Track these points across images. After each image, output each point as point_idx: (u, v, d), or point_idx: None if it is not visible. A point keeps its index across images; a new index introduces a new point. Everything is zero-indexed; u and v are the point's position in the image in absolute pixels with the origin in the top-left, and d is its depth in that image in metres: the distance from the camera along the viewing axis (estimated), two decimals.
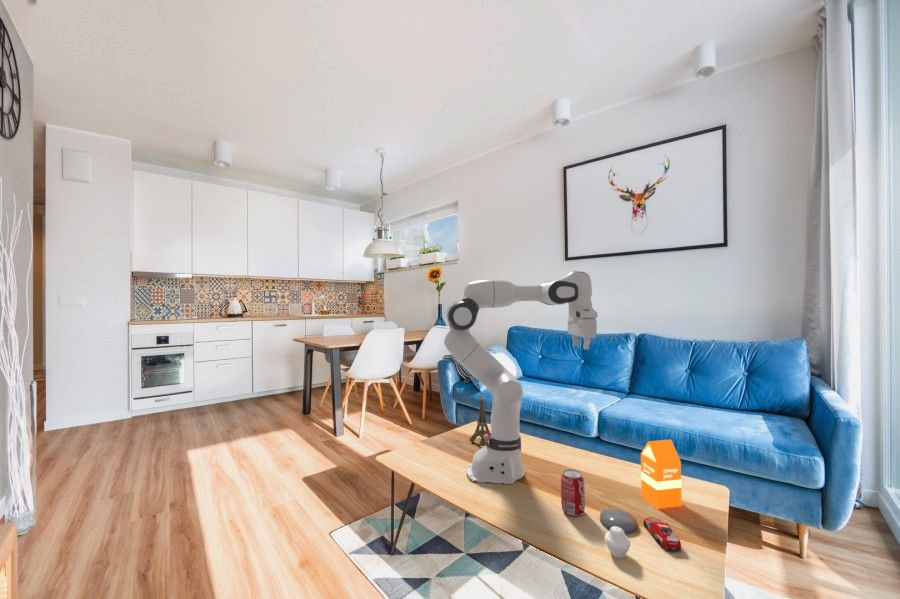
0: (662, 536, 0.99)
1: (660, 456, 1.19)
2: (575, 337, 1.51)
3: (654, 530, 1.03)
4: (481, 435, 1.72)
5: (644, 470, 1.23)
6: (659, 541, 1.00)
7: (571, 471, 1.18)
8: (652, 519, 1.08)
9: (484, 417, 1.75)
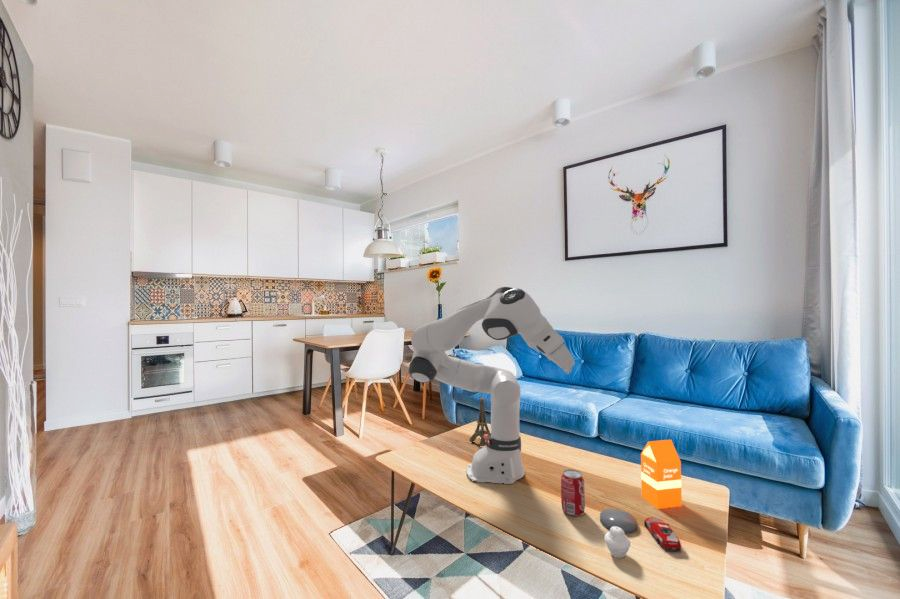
0: (661, 536, 0.99)
1: (660, 456, 1.19)
2: None
3: (654, 530, 1.03)
4: (481, 435, 1.72)
5: (644, 470, 1.23)
6: (659, 541, 1.00)
7: (571, 471, 1.18)
8: (653, 519, 1.08)
9: (484, 417, 1.75)
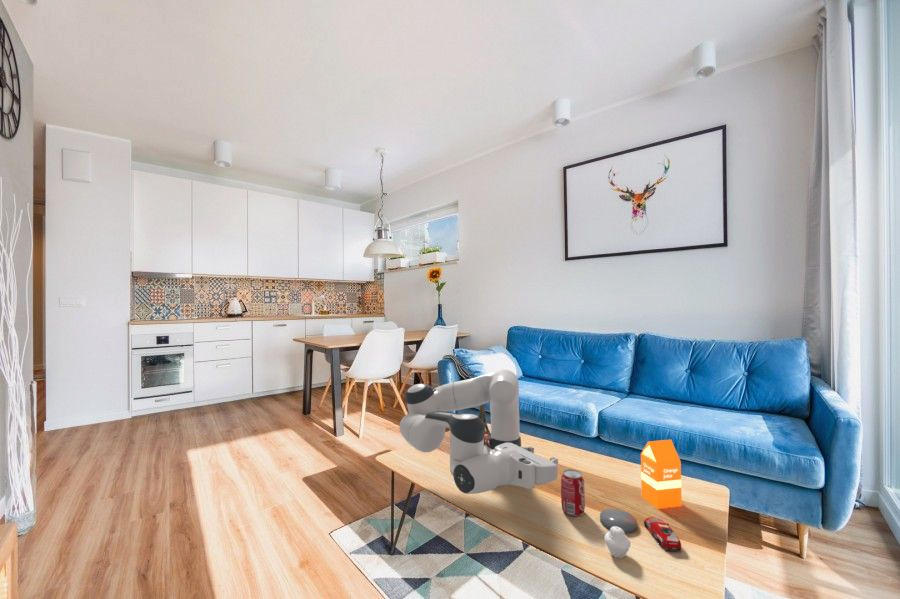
0: (662, 536, 0.99)
1: (660, 456, 1.19)
2: None
3: (654, 530, 1.03)
4: None
5: (644, 470, 1.23)
6: (659, 541, 1.00)
7: (571, 471, 1.18)
8: (653, 519, 1.08)
9: (484, 417, 1.75)
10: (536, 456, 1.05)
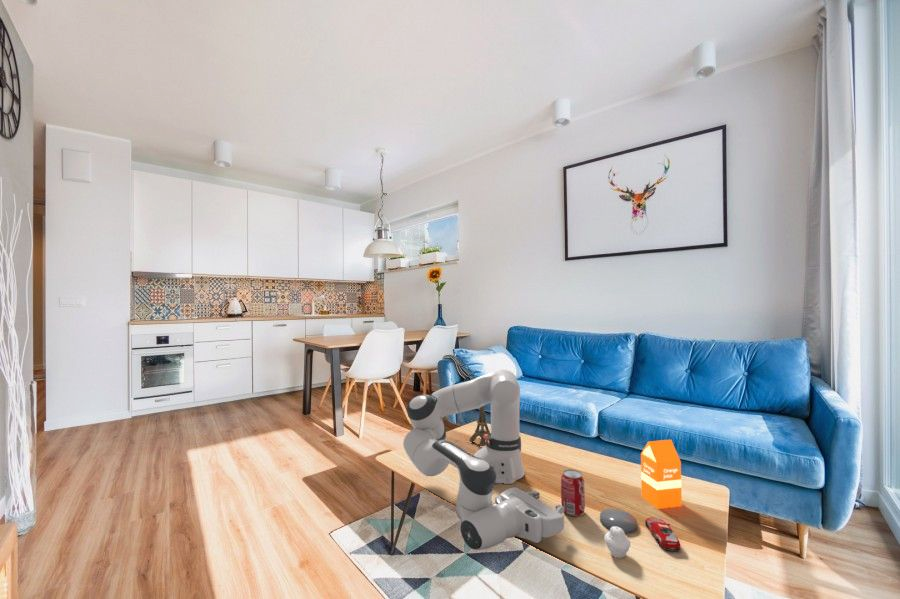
0: (661, 536, 0.99)
1: (660, 456, 1.19)
2: None
3: (654, 529, 1.03)
4: (481, 435, 1.72)
5: (644, 470, 1.23)
6: (658, 541, 1.00)
7: (571, 471, 1.18)
8: (654, 519, 1.08)
9: (484, 417, 1.75)
10: (542, 505, 1.05)
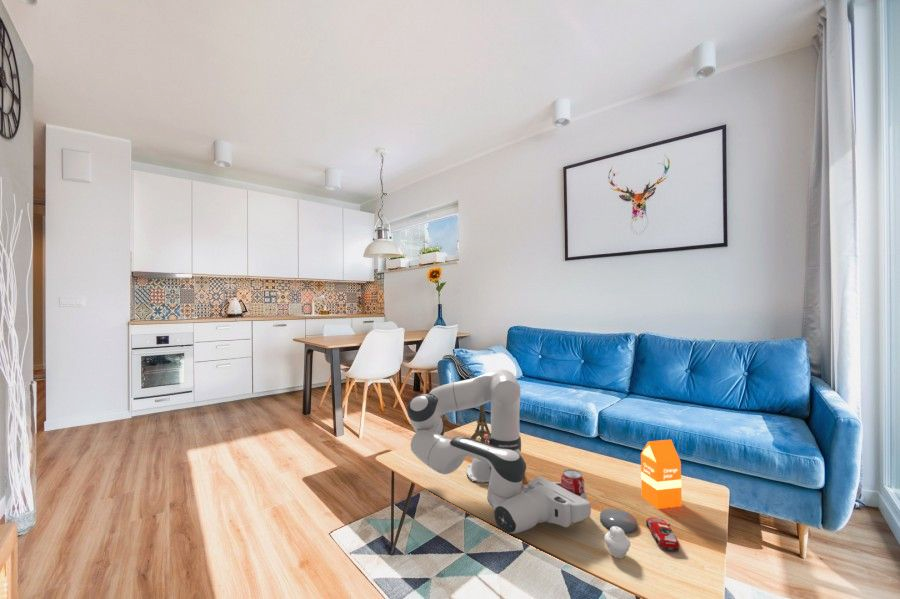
0: (659, 535, 0.99)
1: (660, 456, 1.19)
2: None
3: (654, 529, 1.03)
4: (481, 435, 1.72)
5: (644, 470, 1.23)
6: (657, 540, 1.00)
7: (571, 471, 1.18)
8: (655, 519, 1.08)
9: (484, 417, 1.75)
10: (569, 492, 1.11)
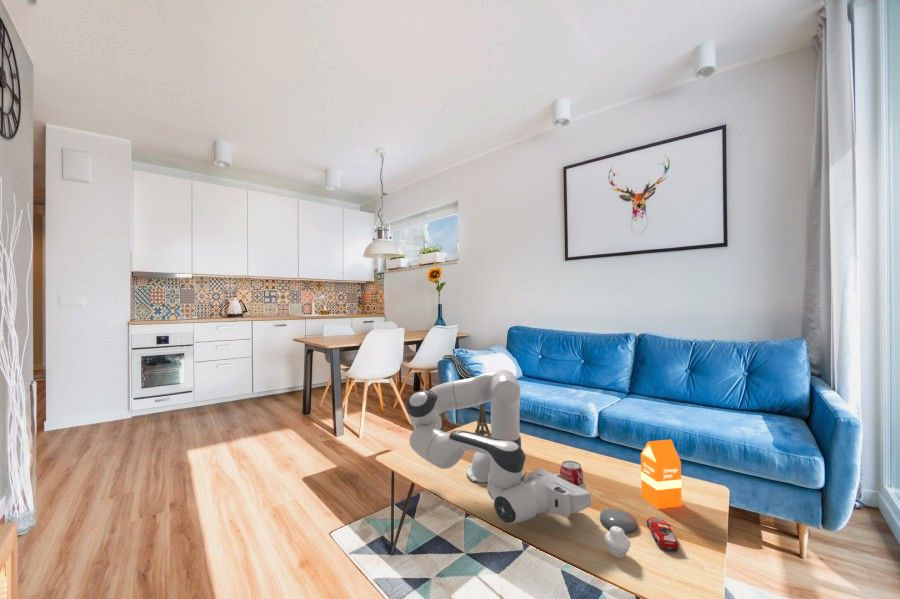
0: (659, 535, 0.99)
1: (660, 456, 1.19)
2: None
3: (654, 529, 1.03)
4: None
5: (644, 470, 1.23)
6: (656, 540, 1.00)
7: (570, 462, 1.19)
8: (655, 519, 1.08)
9: (484, 417, 1.75)
10: (569, 483, 1.11)
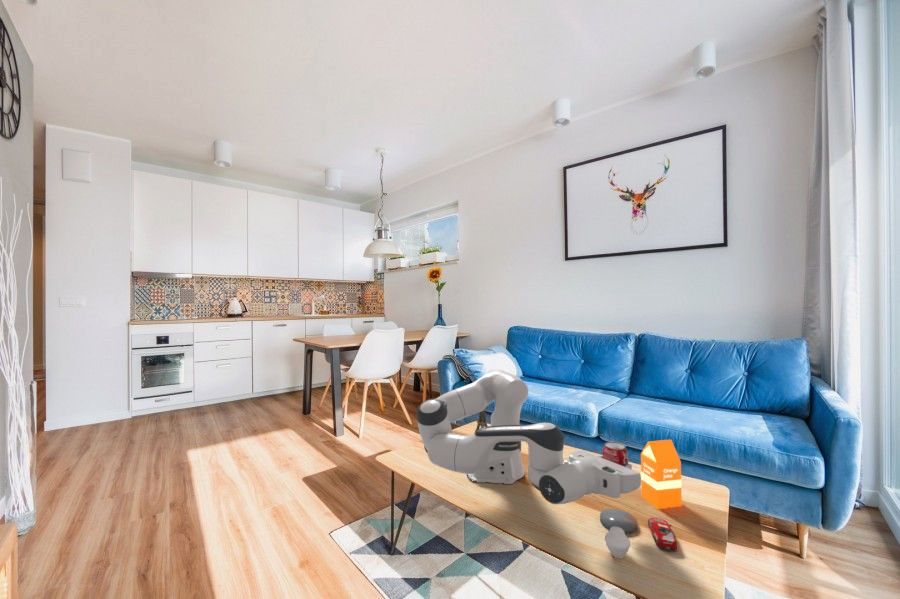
0: (657, 535, 1.00)
1: (660, 456, 1.19)
2: None
3: (653, 528, 1.03)
4: None
5: (644, 470, 1.23)
6: (655, 539, 1.00)
7: (613, 443, 1.12)
8: (657, 519, 1.07)
9: (484, 417, 1.75)
10: (615, 464, 1.05)
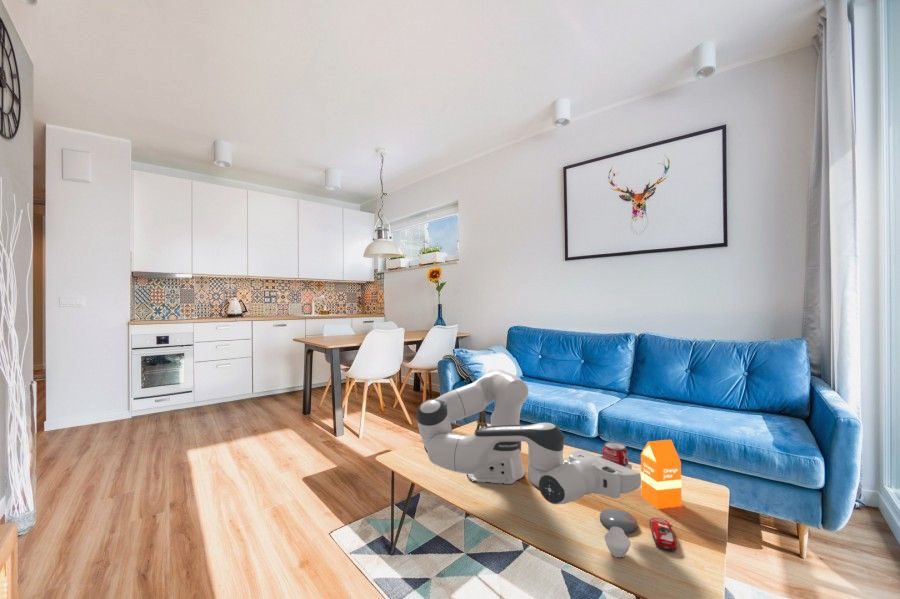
0: (656, 534, 1.00)
1: (660, 456, 1.19)
2: None
3: (653, 528, 1.03)
4: None
5: (644, 470, 1.23)
6: (654, 539, 1.01)
7: (613, 443, 1.12)
8: (658, 519, 1.07)
9: (484, 417, 1.75)
10: (615, 464, 1.05)
